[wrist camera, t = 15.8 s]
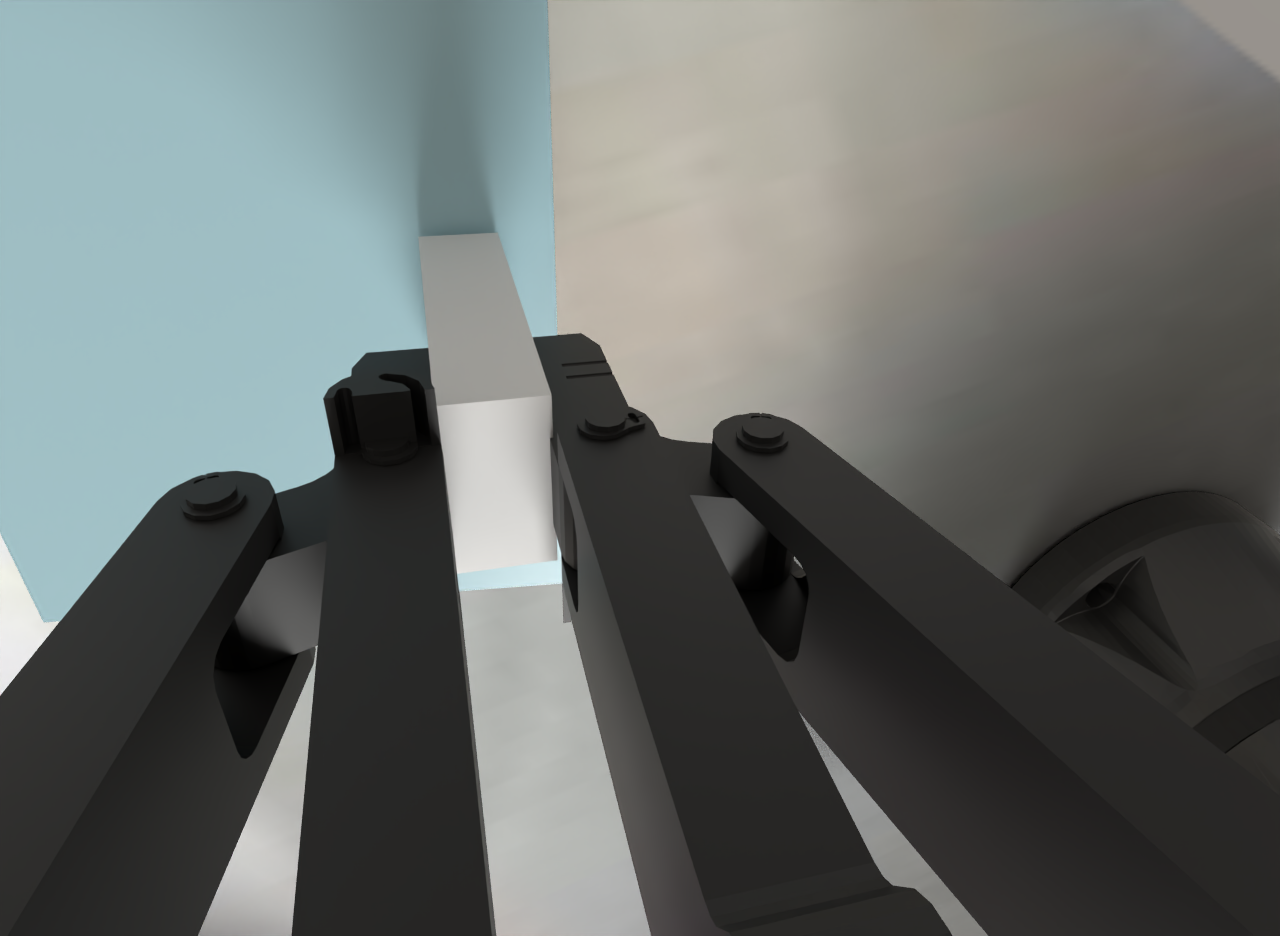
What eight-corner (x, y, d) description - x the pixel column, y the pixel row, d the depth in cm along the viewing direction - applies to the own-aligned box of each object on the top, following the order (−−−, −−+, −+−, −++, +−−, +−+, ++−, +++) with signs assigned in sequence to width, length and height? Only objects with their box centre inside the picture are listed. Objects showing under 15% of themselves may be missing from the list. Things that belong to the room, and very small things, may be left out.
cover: (540, -176, 14) (542, -180, 13) (562, 562, 22) (564, 583, 21) (-320, -214, 12) (-368, -221, 11) (58, 598, 20) (44, 622, 20)
